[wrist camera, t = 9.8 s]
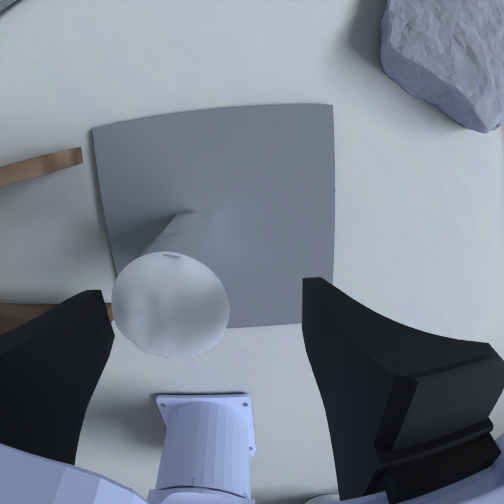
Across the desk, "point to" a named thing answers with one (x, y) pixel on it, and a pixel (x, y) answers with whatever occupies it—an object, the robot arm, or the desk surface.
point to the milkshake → (174, 291)
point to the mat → (230, 196)
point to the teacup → (324, 499)
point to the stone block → (448, 56)
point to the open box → (15, 315)
